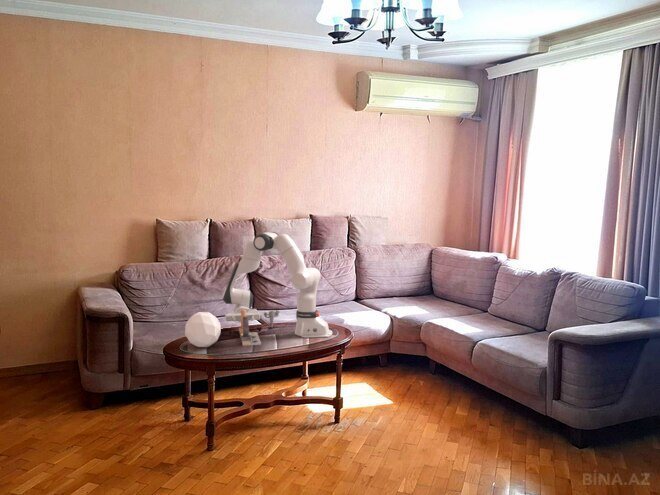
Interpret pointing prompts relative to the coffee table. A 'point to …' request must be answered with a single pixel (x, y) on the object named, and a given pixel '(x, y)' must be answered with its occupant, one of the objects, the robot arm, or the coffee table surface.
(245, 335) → the dividers beam
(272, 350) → the coffee table surface
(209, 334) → the geometric polyhedron
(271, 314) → the mechanical component
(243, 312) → the post
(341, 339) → the coffee table surface
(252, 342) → the bolt hole strip
